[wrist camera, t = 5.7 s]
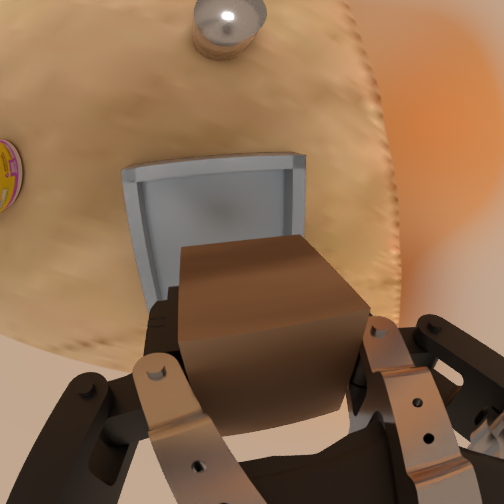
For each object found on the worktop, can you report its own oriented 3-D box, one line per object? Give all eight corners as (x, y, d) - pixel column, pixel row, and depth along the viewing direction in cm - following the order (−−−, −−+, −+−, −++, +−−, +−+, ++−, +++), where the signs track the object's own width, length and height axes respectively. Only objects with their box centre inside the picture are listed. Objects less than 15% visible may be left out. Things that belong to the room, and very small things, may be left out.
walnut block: (180, 247, 10) (177, 341, 5) (299, 234, 11) (370, 307, 6) (196, 340, 12) (207, 438, 7) (294, 325, 13) (339, 410, 8)
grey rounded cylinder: (192, 61, 17) (193, 40, 12) (192, 16, 15) (195, -15, 10) (249, 60, 18) (268, 40, 13) (248, 15, 16) (265, -13, 11)
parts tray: (161, 330, 26) (159, 350, 23) (129, 165, 19) (120, 170, 17) (287, 313, 28) (297, 331, 26) (291, 151, 22) (305, 155, 19)
